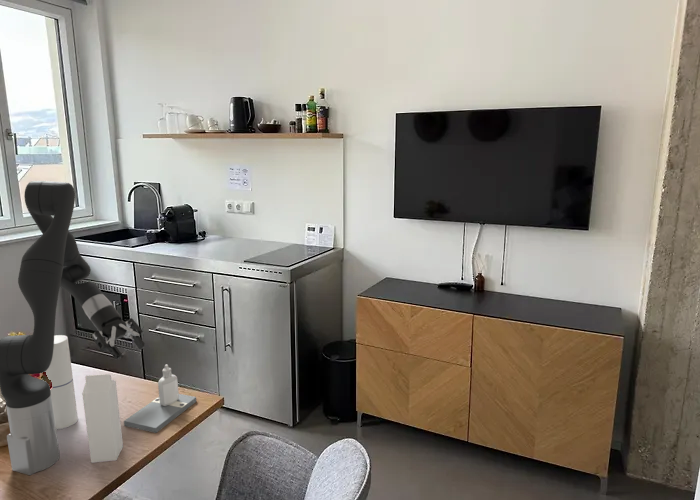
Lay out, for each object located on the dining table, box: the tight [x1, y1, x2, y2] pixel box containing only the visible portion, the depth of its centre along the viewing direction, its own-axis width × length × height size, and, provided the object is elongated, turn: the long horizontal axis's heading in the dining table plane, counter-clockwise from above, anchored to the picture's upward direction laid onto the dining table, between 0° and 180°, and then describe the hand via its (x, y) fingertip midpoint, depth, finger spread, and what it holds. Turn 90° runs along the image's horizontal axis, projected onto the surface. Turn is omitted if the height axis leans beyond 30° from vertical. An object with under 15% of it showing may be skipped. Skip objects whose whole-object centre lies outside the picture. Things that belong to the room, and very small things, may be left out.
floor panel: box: [123, 393, 197, 433], centre depth 145 cm, size 18×11×2 cm, turn 161°
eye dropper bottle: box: [157, 364, 180, 406], centre depth 147 cm, size 4×6×12 cm
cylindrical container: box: [45, 334, 79, 430], centre depth 138 cm, size 7×7×25 cm
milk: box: [81, 373, 124, 464], centre depth 123 cm, size 6×6×22 cm
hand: (131, 352), depth 150 cm, fingers open, 8 cm apart
